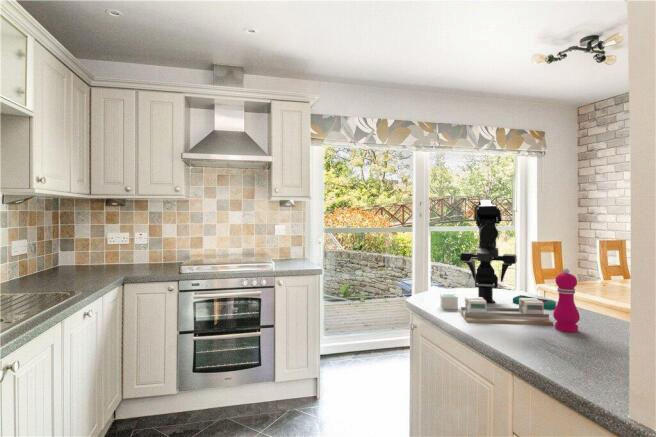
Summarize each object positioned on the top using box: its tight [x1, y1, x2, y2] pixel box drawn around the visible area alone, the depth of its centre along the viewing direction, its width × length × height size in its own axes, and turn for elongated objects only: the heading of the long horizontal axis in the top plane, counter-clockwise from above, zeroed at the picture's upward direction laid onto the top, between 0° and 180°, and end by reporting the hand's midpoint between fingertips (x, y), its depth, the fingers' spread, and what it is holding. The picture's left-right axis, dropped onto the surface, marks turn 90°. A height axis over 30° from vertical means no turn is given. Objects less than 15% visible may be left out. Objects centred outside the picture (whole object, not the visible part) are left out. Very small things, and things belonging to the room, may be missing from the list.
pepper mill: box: [553, 268, 581, 333], centre depth 121 cm, size 7×7×20 cm
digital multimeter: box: [512, 294, 557, 310], centre depth 153 cm, size 7×15×3 cm, turn 37°
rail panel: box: [459, 296, 554, 325], centre depth 135 cm, size 14×28×7 cm, turn 81°
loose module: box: [439, 293, 459, 310], centre depth 151 cm, size 5×6×5 cm
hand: (488, 280), depth 138 cm, fingers open, 9 cm apart
